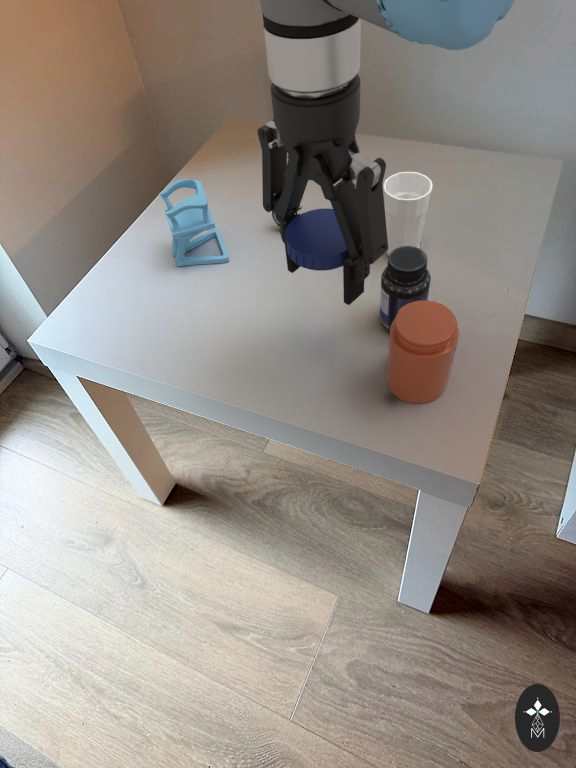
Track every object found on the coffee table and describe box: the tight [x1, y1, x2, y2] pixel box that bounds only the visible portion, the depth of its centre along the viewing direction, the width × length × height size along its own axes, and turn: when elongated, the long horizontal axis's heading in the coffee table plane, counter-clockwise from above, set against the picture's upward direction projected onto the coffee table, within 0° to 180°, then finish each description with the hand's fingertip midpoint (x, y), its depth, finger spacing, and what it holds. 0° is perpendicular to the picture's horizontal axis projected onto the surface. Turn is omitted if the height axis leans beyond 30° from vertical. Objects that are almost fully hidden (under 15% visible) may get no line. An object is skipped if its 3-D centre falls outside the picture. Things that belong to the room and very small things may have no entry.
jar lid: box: [285, 207, 348, 272], centre depth 58 cm, size 8×8×2 cm
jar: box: [385, 300, 460, 404], centre depth 64 cm, size 8×8×11 cm
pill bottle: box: [378, 246, 432, 333], centre depth 69 cm, size 6×6×11 cm
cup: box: [383, 171, 434, 257], centre depth 78 cm, size 7×7×11 cm
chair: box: [158, 179, 230, 267], centre depth 82 cm, size 8×8×12 cm
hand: (325, 280), depth 63 cm, fingers closed on jar lid, 8 cm apart
